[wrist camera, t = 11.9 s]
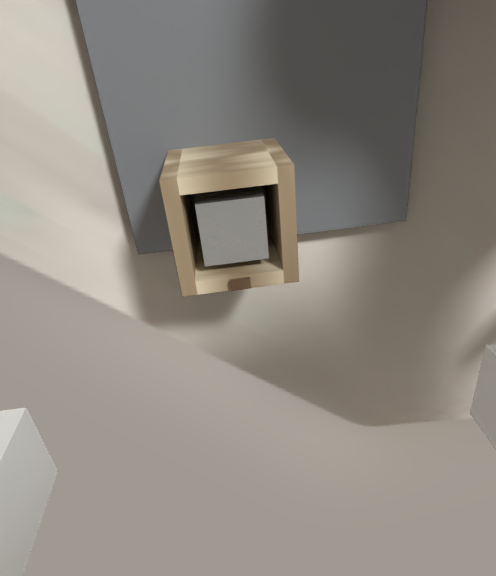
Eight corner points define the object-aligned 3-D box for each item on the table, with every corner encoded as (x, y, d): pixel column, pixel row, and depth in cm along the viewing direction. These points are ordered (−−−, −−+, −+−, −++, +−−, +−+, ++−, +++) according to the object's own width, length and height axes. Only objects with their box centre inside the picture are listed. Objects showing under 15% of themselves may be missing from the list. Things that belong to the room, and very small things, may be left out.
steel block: (250, 160, 30) (264, 196, 24) (254, 211, 32) (269, 258, 26) (196, 167, 30) (194, 204, 23) (204, 217, 32) (204, 266, 25)
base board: (425, -110, 24) (438, -118, 23) (398, 213, 34) (406, 220, 32) (63, -74, 23) (55, -80, 22) (140, 245, 33) (138, 254, 32)
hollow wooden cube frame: (274, 137, 28) (295, 166, 22) (280, 235, 32) (299, 284, 26) (168, 150, 28) (158, 182, 22) (186, 247, 32) (182, 299, 25)
